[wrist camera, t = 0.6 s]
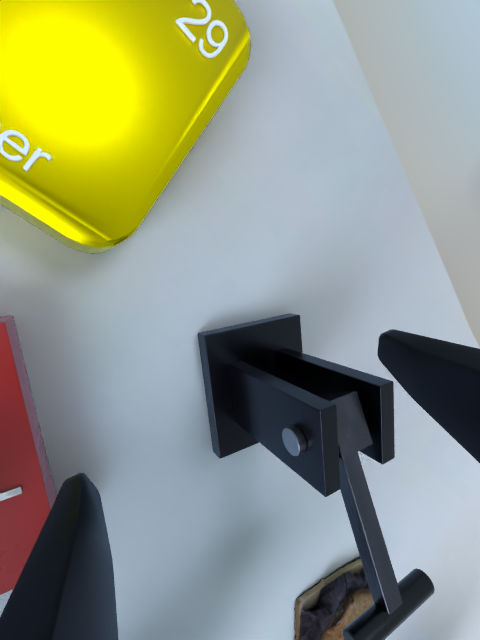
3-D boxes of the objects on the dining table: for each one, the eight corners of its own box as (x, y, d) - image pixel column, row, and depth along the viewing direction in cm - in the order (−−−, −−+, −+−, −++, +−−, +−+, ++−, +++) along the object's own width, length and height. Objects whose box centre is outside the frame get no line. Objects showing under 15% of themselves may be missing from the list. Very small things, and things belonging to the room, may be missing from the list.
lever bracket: (298, 417, 28) (412, 484, 19) (212, 451, 24) (304, 555, 15) (290, 313, 26) (412, 332, 17) (197, 332, 22) (289, 370, 13)
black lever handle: (408, 581, 19) (449, 604, 16) (337, 642, 16) (376, 678, 14) (347, 384, 20) (378, 382, 18) (274, 412, 17) (300, 413, 15)
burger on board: (372, 543, 35) (404, 570, 32) (370, 611, 36) (400, 644, 33) (293, 592, 30) (322, 630, 27) (294, 670, 31) (321, 715, 28)
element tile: (-276, 31, 12) (-457, -102, 8) (-20, -210, 14) (-53, -411, 10) (102, 268, 19) (114, 266, 15) (230, 79, 21) (272, 31, 17)
